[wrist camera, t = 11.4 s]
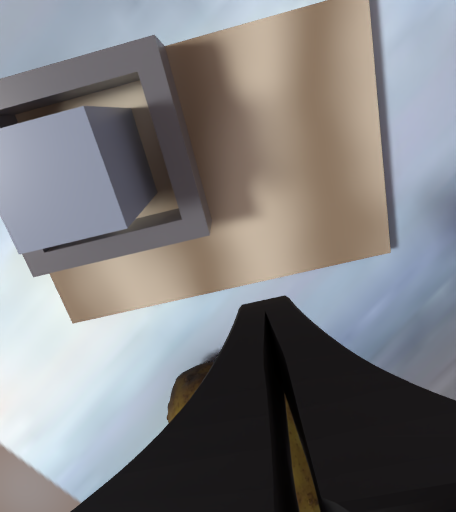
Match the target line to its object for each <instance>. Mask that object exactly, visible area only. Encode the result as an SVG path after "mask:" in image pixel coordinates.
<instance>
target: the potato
mask: <svg viewBox="0 0 456 512" xmlns="http://www.w3.org/2000/svg"><path fill="white" fill-rule="evenodd" d="M213 363H214V362H207V363H203V364H200V365H197V366H195V367H193V368H191V369H189V370H187V371H185V372H183V373H182V374H181V375H180V376H178V377H177V379H176V381H175V384H174V386H173V389H172V392H171V397H170V402H169V404H168V415H167V420H168V422H169V423H170V421H171V420H172V419H173V418H174V417H175V416H176V415H177V414H178V412H179V411H180V410H181V409H182V408H183V407H184V406H185V404H186V403H187V402H188V401H189V399H190V398H191V397H192V395H193V394H194V393H195V391H196V390H197V388H198V387H199V386H200V384H201V383H202V381H203V380H204V378H205V377H206V375H207V373H208V372H209V370H210V368H211V367H212V365H213ZM284 394H285V393H284ZM285 403H286V413H287V422H288V431H289V441H290V450H291V460H292V469H293V476H294V483H295V490H296V496H297V501H298V506H299V511H300V512H320V508H319V504H318V499H317V495H316V491H315V487H314V484H313V480H312V476H311V473H310V469H309V466H308V463H307V460H306V457H305V454H304V451H303V448H302V445H301V442H300V439H299V436H298V433H297V430H296V427H295V424H294V421H293V417H292V414H291V411H290V408H289V405H288V402H287V399H286V396H285Z"/></svg>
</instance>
